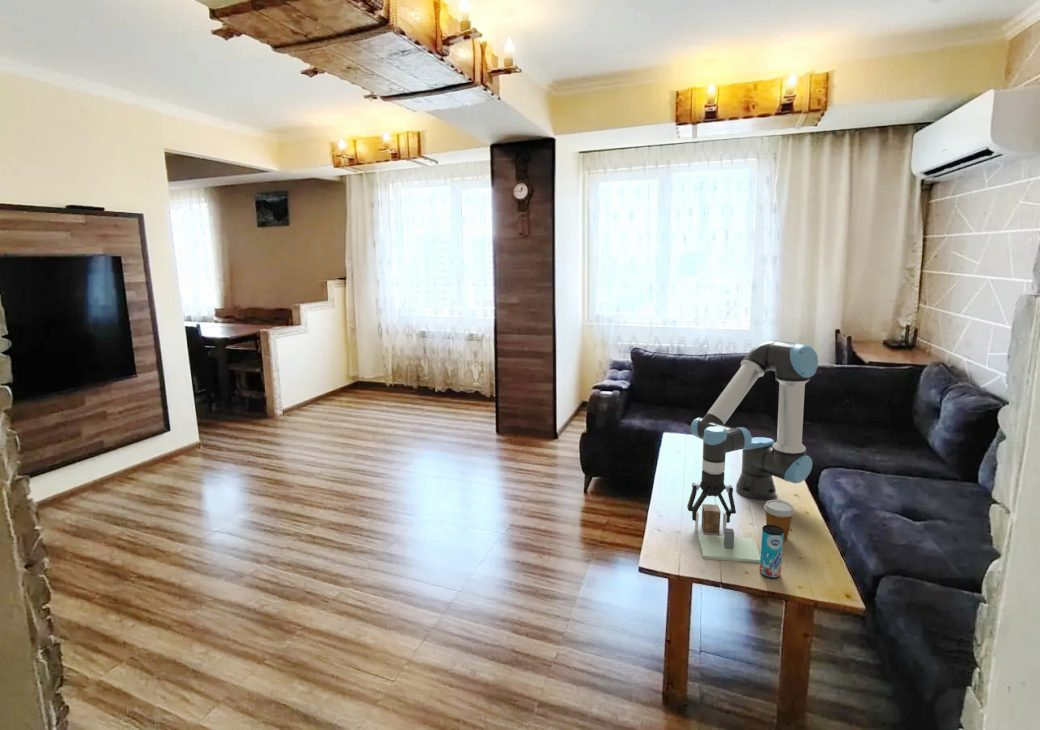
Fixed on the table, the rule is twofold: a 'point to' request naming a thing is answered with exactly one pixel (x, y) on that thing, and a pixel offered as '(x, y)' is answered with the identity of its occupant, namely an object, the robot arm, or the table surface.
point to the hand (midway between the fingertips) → (710, 529)
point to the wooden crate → (710, 518)
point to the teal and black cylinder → (771, 551)
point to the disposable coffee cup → (779, 515)
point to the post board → (729, 554)
